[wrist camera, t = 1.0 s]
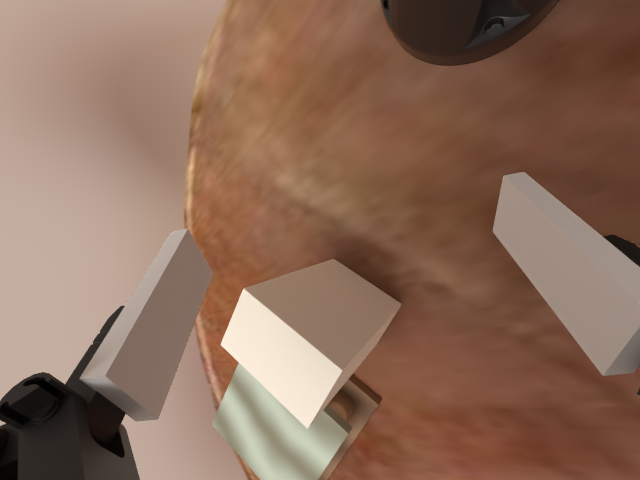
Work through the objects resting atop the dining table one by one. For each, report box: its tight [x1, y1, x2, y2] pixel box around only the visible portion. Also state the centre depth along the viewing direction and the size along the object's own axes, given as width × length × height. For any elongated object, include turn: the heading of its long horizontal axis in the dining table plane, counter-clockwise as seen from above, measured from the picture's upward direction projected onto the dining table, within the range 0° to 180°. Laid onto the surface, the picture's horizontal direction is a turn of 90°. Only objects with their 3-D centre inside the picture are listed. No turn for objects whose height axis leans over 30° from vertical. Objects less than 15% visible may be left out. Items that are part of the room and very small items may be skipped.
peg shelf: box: [212, 363, 382, 480], centre depth 37 cm, size 16×16×6 cm
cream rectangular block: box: [221, 259, 402, 429], centre depth 28 cm, size 6×9×15 cm, turn 63°
